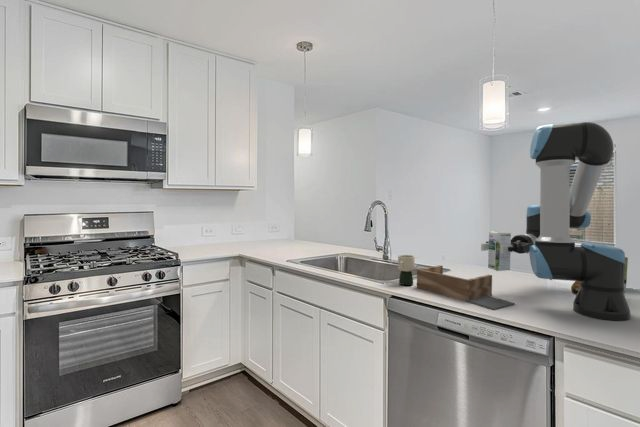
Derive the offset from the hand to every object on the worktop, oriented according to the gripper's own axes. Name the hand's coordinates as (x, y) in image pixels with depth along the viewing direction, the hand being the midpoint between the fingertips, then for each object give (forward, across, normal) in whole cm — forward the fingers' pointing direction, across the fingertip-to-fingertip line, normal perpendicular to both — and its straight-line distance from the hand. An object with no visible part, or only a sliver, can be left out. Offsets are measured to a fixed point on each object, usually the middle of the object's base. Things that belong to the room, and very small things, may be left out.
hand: (491, 248), depth 134 cm
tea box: (-55, -15, -20) cm, 61 cm away
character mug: (+8, +36, -20) cm, 42 cm away
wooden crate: (-1, +17, -20) cm, 26 cm away
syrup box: (-5, 0, -9) cm, 10 cm away
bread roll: (-40, -16, -20) cm, 48 cm away
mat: (+3, -1, -20) cm, 20 cm away
